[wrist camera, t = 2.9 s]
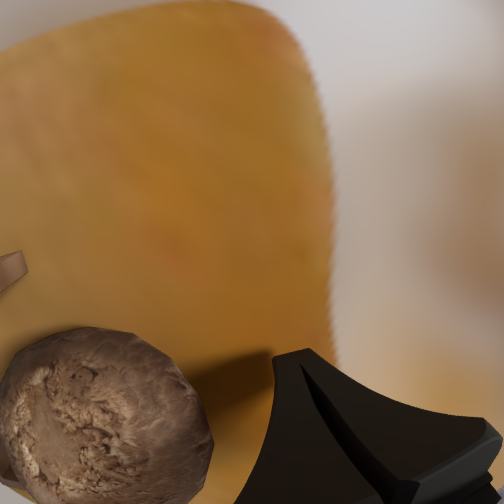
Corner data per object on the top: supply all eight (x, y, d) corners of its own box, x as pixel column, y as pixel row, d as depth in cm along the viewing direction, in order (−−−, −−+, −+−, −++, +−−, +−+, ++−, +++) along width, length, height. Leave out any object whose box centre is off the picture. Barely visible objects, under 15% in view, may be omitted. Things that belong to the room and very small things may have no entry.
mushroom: (189, 526, 10) (142, 601, 4) (48, 443, 11) (-41, 459, 5) (253, 378, 12) (238, 390, 6) (95, 306, 14) (5, 265, 8)
